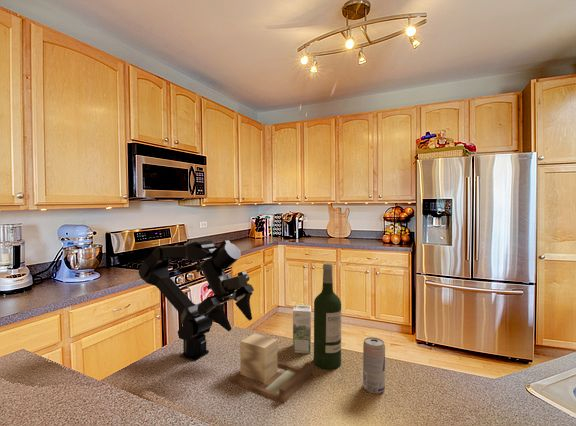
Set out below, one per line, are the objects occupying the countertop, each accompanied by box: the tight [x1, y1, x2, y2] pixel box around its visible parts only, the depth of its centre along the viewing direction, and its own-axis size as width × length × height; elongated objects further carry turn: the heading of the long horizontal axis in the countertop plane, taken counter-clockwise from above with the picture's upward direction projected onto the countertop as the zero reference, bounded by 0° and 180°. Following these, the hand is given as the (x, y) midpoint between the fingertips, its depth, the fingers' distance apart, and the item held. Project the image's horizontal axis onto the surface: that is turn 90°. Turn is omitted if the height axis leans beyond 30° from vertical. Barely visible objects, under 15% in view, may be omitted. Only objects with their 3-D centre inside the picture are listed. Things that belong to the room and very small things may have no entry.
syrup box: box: [292, 304, 312, 354], centre depth 96 cm, size 6×6×14 cm
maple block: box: [239, 332, 278, 383], centre depth 81 cm, size 8×6×9 cm
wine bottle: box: [313, 262, 342, 371], centre depth 87 cm, size 8×8×30 cm
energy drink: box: [362, 336, 386, 394], centre depth 77 cm, size 5×5×12 cm
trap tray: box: [226, 360, 313, 404], centre depth 79 cm, size 18×14×4 cm
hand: (240, 325), depth 85 cm, fingers open, 9 cm apart
